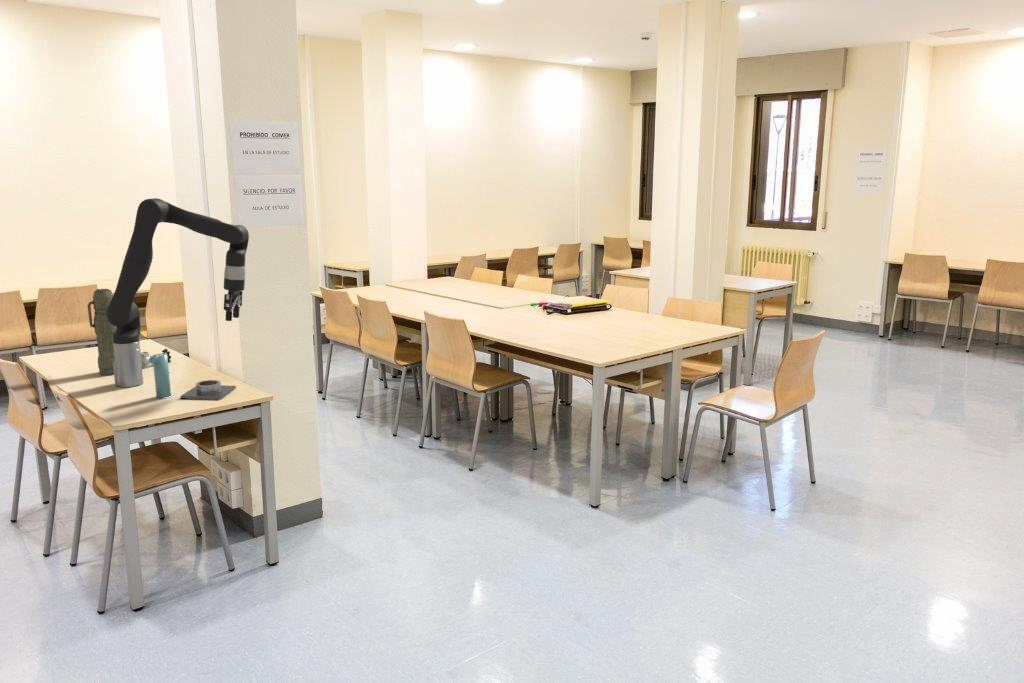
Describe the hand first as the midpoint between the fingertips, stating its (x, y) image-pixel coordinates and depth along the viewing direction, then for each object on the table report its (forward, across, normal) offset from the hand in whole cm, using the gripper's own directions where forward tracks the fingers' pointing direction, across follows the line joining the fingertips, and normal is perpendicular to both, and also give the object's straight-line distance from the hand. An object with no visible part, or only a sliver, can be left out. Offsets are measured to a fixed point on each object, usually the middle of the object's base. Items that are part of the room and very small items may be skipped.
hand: (232, 319), depth 299 cm
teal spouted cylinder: (+30, +14, -19) cm, 38 cm away
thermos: (+32, -21, -55) cm, 67 cm away
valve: (+30, -34, -42) cm, 62 cm away
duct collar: (+28, +10, -4) cm, 30 cm away
